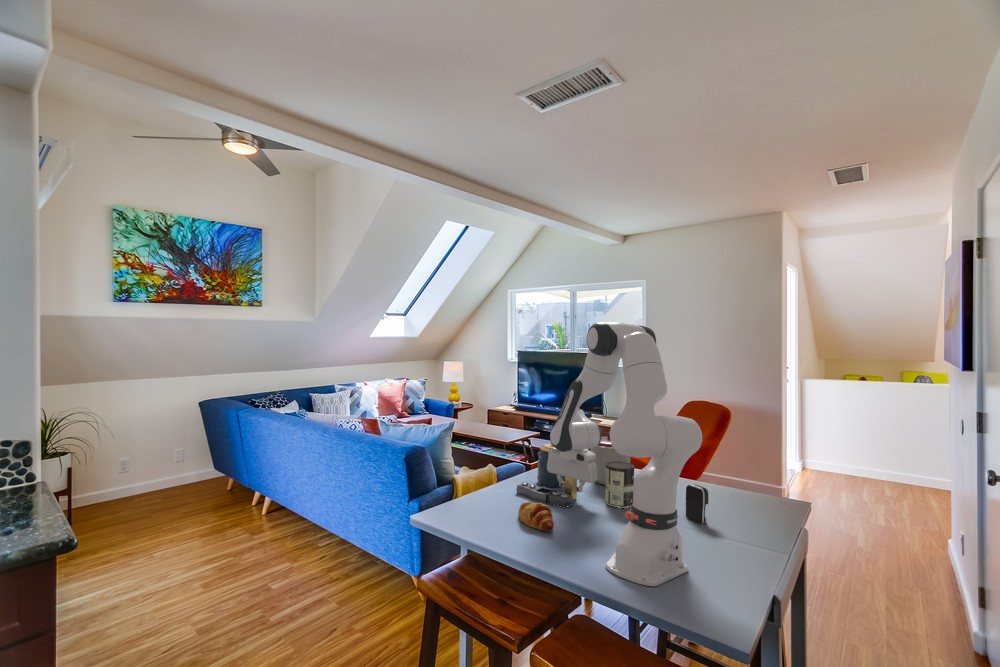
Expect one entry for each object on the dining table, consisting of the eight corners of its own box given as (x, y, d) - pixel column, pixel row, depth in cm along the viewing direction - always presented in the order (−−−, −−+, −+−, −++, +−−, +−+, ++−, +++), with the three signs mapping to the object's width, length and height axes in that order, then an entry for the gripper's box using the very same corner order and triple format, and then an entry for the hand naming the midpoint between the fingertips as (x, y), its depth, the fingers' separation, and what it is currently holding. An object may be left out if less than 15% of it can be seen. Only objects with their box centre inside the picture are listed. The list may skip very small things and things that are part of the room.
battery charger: (709, 522, 157) (710, 488, 157) (701, 524, 155) (702, 489, 155) (692, 515, 163) (693, 482, 163) (684, 517, 161) (685, 483, 162)
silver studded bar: (562, 509, 166) (563, 498, 166) (515, 493, 181) (515, 484, 181) (574, 504, 171) (574, 494, 171) (526, 489, 186) (526, 480, 186)
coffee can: (629, 499, 178) (630, 461, 178) (637, 509, 168) (638, 469, 168) (602, 498, 178) (602, 460, 178) (607, 508, 168) (608, 468, 168)
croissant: (514, 522, 162) (504, 502, 161) (537, 505, 166) (528, 485, 165) (543, 547, 143) (533, 524, 141) (569, 527, 146) (559, 505, 145)
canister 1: (534, 478, 201) (535, 436, 201) (564, 478, 203) (565, 436, 203) (540, 488, 188) (541, 443, 188) (572, 487, 190) (573, 443, 190)
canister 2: (635, 480, 202) (636, 430, 203) (628, 492, 186) (630, 438, 186) (593, 473, 210) (594, 426, 210) (583, 485, 193) (584, 433, 193)
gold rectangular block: (571, 501, 174) (572, 476, 174) (564, 499, 176) (564, 474, 176) (576, 499, 177) (577, 474, 177) (569, 497, 179) (569, 473, 179)
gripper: (544, 448, 181) (543, 484, 181) (590, 458, 167) (589, 498, 167) (553, 445, 186) (552, 481, 186) (599, 455, 172) (599, 493, 172)
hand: (570, 489), depth 177 cm, fingers open, 6 cm apart
